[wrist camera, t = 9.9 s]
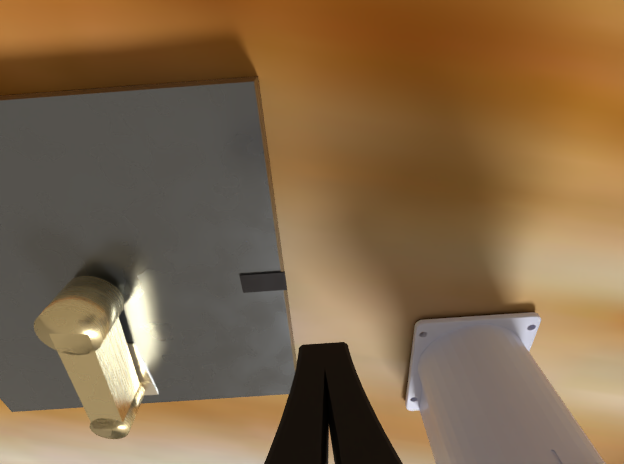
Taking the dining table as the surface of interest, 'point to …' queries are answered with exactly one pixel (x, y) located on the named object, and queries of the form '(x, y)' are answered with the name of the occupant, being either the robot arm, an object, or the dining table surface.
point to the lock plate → (145, 237)
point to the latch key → (94, 352)
